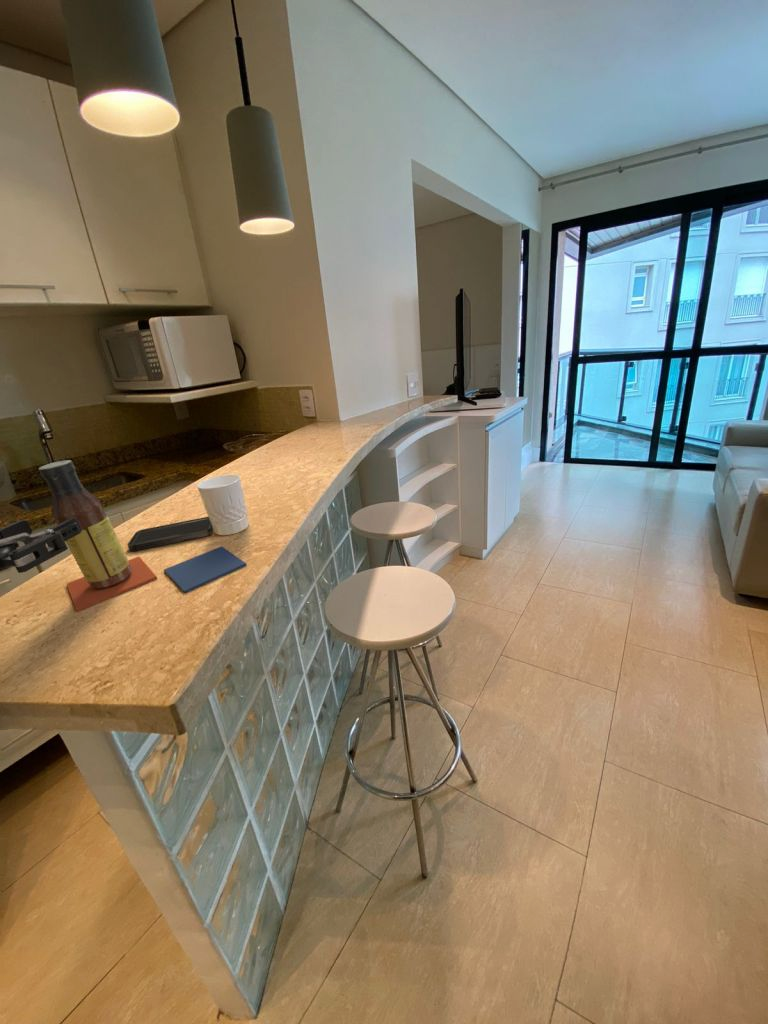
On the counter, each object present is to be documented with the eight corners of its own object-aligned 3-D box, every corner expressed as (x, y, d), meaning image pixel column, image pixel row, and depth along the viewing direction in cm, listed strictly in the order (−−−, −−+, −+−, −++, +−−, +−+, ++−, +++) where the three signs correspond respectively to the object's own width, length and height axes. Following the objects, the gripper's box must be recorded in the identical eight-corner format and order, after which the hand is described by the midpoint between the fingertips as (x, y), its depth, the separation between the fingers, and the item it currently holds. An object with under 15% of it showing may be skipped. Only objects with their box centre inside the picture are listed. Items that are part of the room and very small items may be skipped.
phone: (137, 530, 83) (214, 515, 86) (139, 535, 83) (215, 520, 86) (125, 547, 76) (210, 529, 79) (127, 552, 76) (211, 535, 79)
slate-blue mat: (184, 593, 61) (183, 591, 61) (164, 571, 68) (163, 569, 68) (246, 565, 67) (246, 563, 67) (222, 547, 74) (221, 546, 74)
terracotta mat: (77, 611, 59) (76, 609, 59) (67, 585, 67) (66, 583, 67) (157, 578, 66) (156, 576, 66) (139, 558, 73) (139, 556, 73)
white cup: (219, 541, 76) (204, 491, 73) (206, 529, 82) (191, 483, 78) (258, 526, 81) (246, 479, 77) (243, 516, 87) (231, 472, 83)
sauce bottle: (131, 565, 70) (85, 454, 62) (135, 579, 65) (86, 460, 57) (86, 581, 67) (32, 464, 59) (87, 597, 62) (28, 473, 54)
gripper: (-55, 561, 40) (84, 498, 54) (-160, 562, 42) (-1, 502, 57) (-17, 623, 43) (105, 548, 57) (-117, 620, 45) (23, 549, 60)
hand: (52, 525), depth 57 cm, fingers open, 8 cm apart
